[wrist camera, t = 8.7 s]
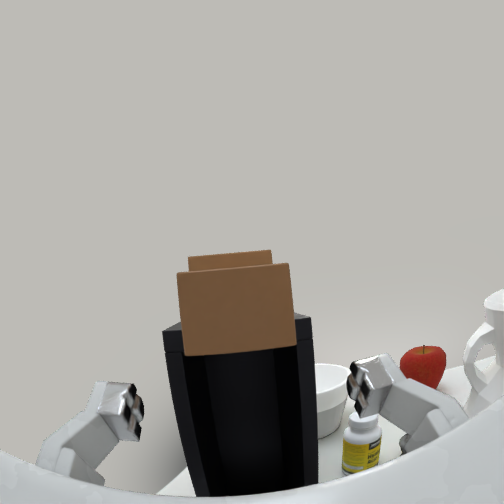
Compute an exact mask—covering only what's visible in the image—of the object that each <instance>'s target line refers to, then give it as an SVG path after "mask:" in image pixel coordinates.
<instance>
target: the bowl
mask: <svg viewBox="0 0 504 504" xmlns="http://www.w3.org/2000/svg"><path fill="white" fill-rule="evenodd" d="M350 373H351V371H350V369H348V368H346V367H343V366H339V365H334V364H315V377H316V396H317V420H318V439H319V438H322V437H325V436H327V435H329V434H331V433H332V432H334V431H335V430H336V429H337V428H338V427H339V425H340V422H341V418H342V415H343V411H344V408H345V404H346V400H347V396H348V392H347V387H346V381H347V377H348V376H349V375H350Z"/></svg>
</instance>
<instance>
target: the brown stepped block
mask: <svg viewBox="0 0 504 504" xmlns="http://www.w3.org/2000/svg"><path fill="white" fill-rule="evenodd" d="M188 264H189V272H179V273H177V285H178V296H179V308H180V318H181V327H182V336H183V344H184V352H185V356H199V355H214V354H227V353H238V352H248V351H257V350H265V349H273V348H281V347H288V346H295V345H296V344H297V341H296V330H295V319H294V309H293V299H292V289H291V280H290V270H289V264H288V263H281V264H273V263H272V254H271V250H261V251H249V252H238V253H226V254H215V255H204V256H193V257H188Z"/></svg>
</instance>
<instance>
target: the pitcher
mask: <svg viewBox="0 0 504 504" xmlns="http://www.w3.org/2000/svg"><path fill="white" fill-rule="evenodd" d="M483 305H484V308H485V318H486V321H485V322H484V323H483V324H482V325H481V326H480V327H479V328H478V330H477V331H476V332H475V333H474V334H473V335H472V336H471V338H470V339H469V340H468V342H467V345H466V348H465V351H464V355H463V363H464V371H465V374H466V376H467V378H468V380H469V382H470V384H471V386H472V389H471V392H470V394H469V397H468V400H467V402H466V404H465V406H464V408H463V410H464V411H465V413H466V414H467V415H468V417H469V418H472V417H474V416H475V415H476V414H478V413H479V412H481V411H482V410H484V409H485V408H487V407H488V406H489V405H491V404H492V403H493V402H495V401H496V400H497V399H499V398H500V397H501V396H502V395H504V289H501V290H499V291H497V292H495V293H493V294H491V295H490V296H489V297H487V298H486V299H485V301H484V303H483ZM486 344H492V345H493V347H494V349H495V354H496V358H495V359H494V360H493V362H492V363H491V364H490V365H489V366H488V367H487V368H486V369H484V370H483V371H482V372H481V371H480V370H479V369H478V368H477V367H476V366H475V364H474V362H475V359H476V357H477V354H478V352H479V351H480V349H481V348H482V347H483V346H484V345H486Z"/></svg>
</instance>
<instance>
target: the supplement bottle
mask: <svg viewBox="0 0 504 504" xmlns="http://www.w3.org/2000/svg"><path fill="white" fill-rule="evenodd" d="M377 423H378V414H375V415H372V416H368V417H365V418H361V419H360V418H359V416H358V414H357V411H355V412H353V413H352V414H351V415H350V416H349V427H347V428H346V430H345V431H344V436H343V456H342V471H343V472H344V473H345V474H346V475H351V474H355V473H358V472H361V471H364V470H366V469H369V468H372V467H375V466H378V461H379V454H380V445H381V436H382V429H381V427H380V426H379V425H378V424H377Z"/></svg>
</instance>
